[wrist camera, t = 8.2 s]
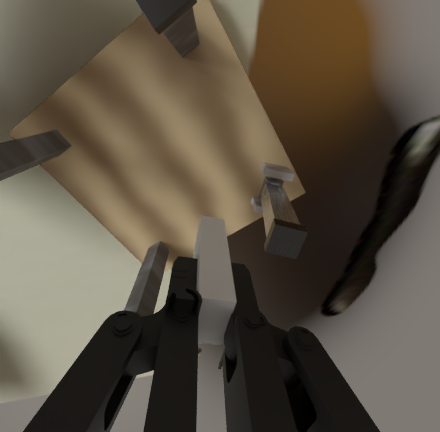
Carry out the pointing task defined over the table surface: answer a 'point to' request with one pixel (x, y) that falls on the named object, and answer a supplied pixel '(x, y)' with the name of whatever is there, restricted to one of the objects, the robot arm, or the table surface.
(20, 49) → the table surface
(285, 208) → the hinged leg
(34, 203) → the table surface
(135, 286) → the stool top
